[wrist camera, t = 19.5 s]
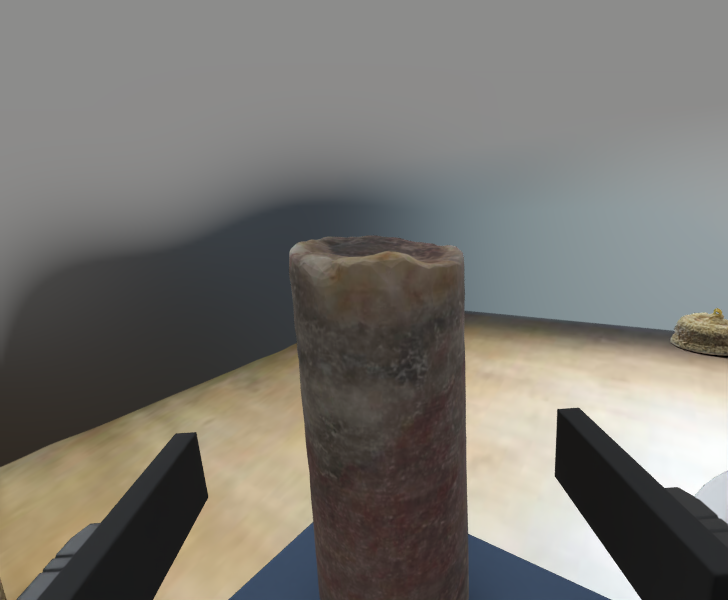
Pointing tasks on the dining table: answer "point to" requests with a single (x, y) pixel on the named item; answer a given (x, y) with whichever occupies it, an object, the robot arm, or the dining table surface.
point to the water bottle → (2, 592)
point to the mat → (486, 576)
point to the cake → (702, 333)
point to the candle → (384, 415)
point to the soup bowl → (716, 495)
